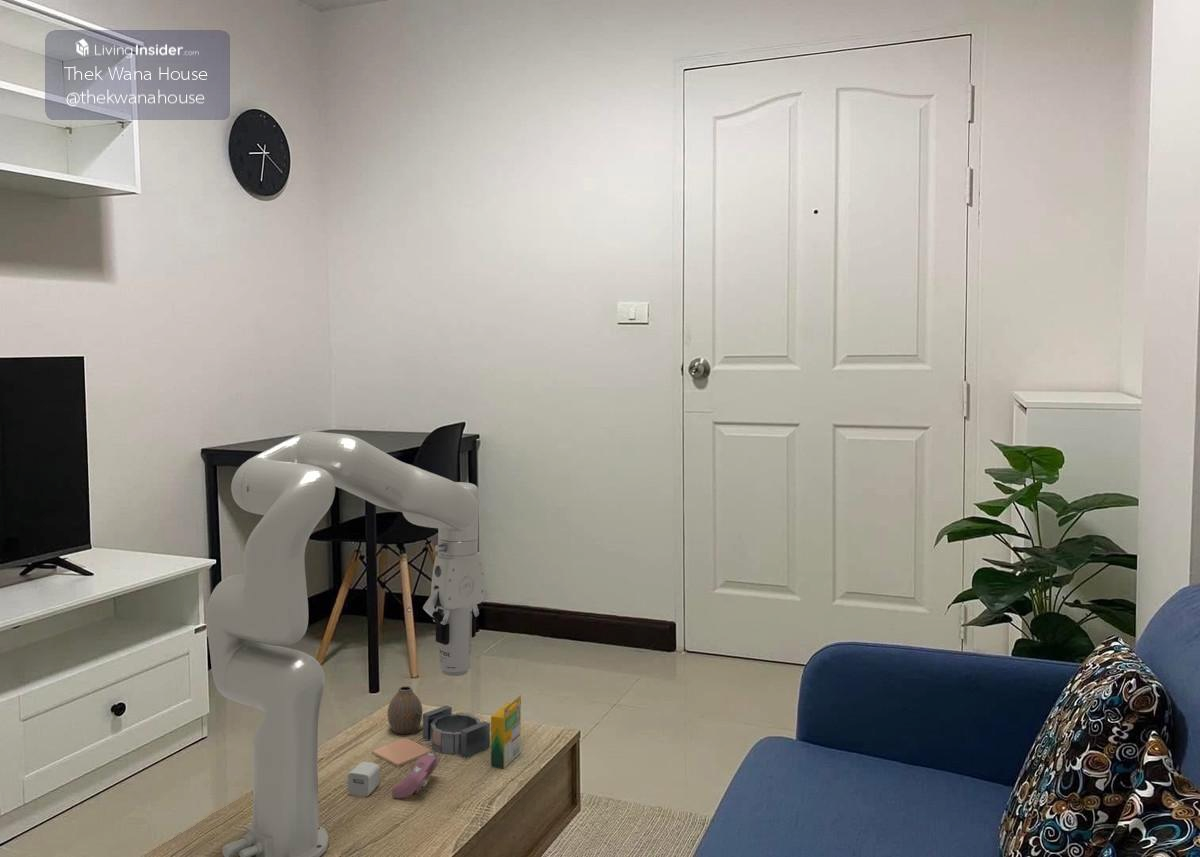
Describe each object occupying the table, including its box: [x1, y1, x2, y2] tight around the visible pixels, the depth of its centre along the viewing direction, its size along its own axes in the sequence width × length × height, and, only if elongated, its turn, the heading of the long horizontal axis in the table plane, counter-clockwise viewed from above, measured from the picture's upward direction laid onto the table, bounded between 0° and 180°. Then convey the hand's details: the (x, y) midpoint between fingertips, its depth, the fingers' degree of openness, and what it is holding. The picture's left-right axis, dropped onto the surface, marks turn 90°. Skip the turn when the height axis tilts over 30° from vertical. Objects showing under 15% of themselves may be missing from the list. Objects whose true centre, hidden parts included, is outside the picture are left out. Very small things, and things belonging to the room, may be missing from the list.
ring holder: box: [422, 705, 491, 759], centre depth 186 cm, size 13×10×5 cm
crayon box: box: [490, 695, 522, 770], centre depth 180 cm, size 7×3×12 cm, turn 160°
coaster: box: [371, 737, 433, 768], centre depth 182 cm, size 8×8×1 cm
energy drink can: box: [438, 605, 472, 677], centre depth 184 cm, size 6×6×15 cm
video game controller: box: [391, 752, 441, 799], centre depth 168 cm, size 10×5×7 cm, turn 169°
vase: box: [387, 685, 424, 735], centre depth 192 cm, size 7×7×9 cm
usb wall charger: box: [347, 761, 383, 797], centre depth 168 cm, size 4×7×4 cm, turn 167°
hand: (455, 638), depth 184 cm, fingers closed on energy drink can, 6 cm apart
